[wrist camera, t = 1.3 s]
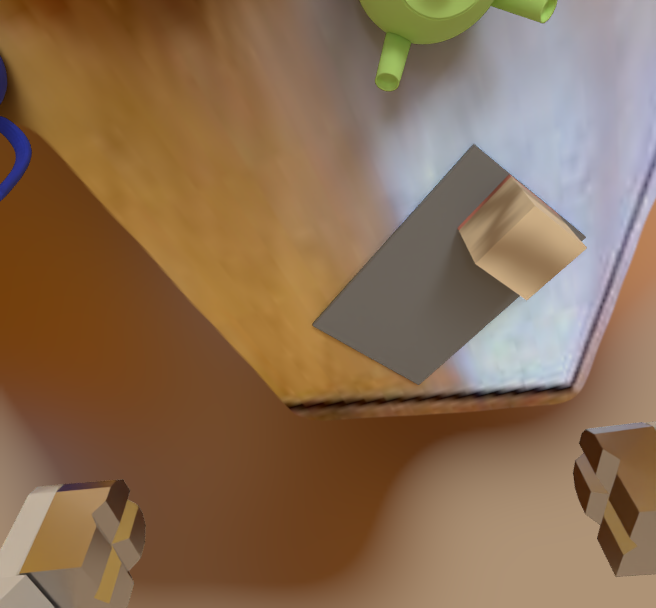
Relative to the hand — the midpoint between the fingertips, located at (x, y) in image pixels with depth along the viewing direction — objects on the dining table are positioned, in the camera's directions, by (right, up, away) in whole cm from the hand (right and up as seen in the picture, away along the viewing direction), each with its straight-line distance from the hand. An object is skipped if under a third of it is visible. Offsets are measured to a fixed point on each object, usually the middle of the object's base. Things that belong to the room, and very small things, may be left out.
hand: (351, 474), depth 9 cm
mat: (+10, +5, +40) cm, 41 cm away
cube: (+15, +10, +36) cm, 40 cm away
